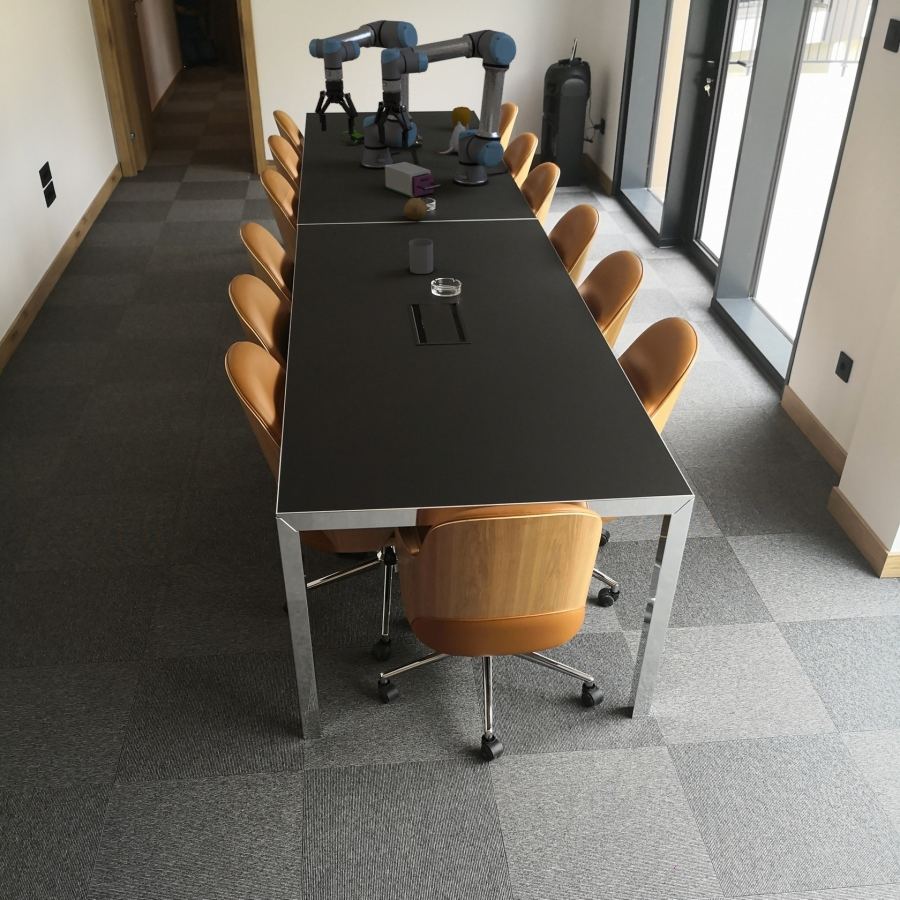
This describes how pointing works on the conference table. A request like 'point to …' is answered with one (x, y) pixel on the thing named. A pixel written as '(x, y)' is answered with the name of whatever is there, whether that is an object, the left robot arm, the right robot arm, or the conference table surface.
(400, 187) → the cabinet
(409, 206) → the potato
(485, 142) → the right robot arm
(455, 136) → the toy
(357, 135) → the green irregular shape
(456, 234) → the conference table surface
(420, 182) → the drawer
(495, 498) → the conference table surface
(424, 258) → the cup
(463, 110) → the apple
